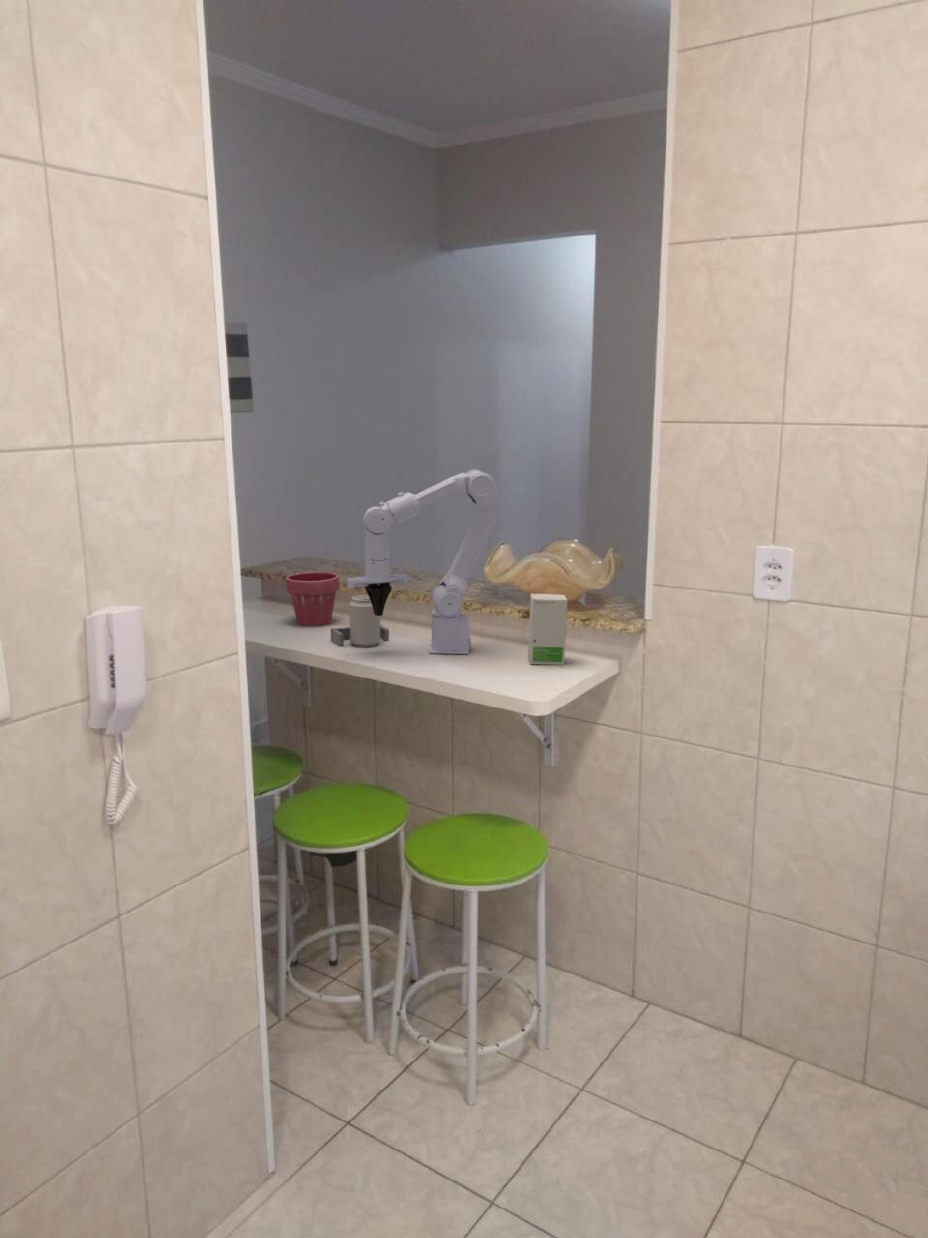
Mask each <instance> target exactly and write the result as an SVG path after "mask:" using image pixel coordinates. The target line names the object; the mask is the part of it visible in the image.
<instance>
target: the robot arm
mask: <svg viewBox="0 0 928 1238" xmlns="http://www.w3.org/2000/svg"><path fill="white" fill-rule="evenodd" d="M498 492H499V488H498V486H497V484H496V482H495V479H494V478H493V477H492V475H490V474H489V473H487V472H483V471H482V470H480V469H473V468H472V469H469V470H467V471H466V472H461V473H458V474H456V475H453V476H451V477H449V478H446V479H445V480H443V481H440V482H438V483H436V484H435V485H433V486H430V487H428V488H426V489H424V490H422V491H421V492H418V493H417V494H416V493H415V494H413V493H411V492H403V491H400V492H399V493H397V497H394V498H392V499H390V500H388V501H386V502H384V501H381V502H379V506H371V507H370V508H368V509H367V510H366V512H365V513H364V515H363V518H362V522H363V524H364V526H365V527H366V528H365V532H364V534H365V535H364V537H365V539H364V547H365V548H364V556H365V557H364V559H365V575H364V576H358V577H354V578H353V577H350V578H347V583H346V584H347V588H349V589H354V588H360V587H362V588H363V587H364V590H365V592H366V593H367V595H369V598H370V600H371V603H372V606H373V610H374V615H376V616H380V617H381V616H384V615H383V614H384V611H385V605H386V603H387V601H388V598H389V595H390V594H391V592H392V589H393V588H392V585H394V584H396V585H397V584H408V581H409V580H408V578H409V577H408V574H405V573H398V574H395V573H394V574H391V570H390V569H391V567H390V566H391V563H390V562H391V559H390V555H391V553H390V547H391V546H390V538H389V530H390V527H391V526H396V525H398V524H401V523H402V522H406V521H408V520H409V519H412V518H414V517H416V516H418V515H419V514H420V512H421V509H422V507H426V506H428V505H431V504H433V503H435V502H437V501H440V500H442V499H445V498H447V497H450V496H452V495H454V496H461V497H463V496H464V497H466V496H468V497H469V499H470V500H471V502H472V505H473V508H474V511H475V512H476V514H475V515H474V517H473V519H472V522H471V524H470V526H469V528H468V530H467V531H466V534H465V537H464V539H462V543H461V544H460V547H459V549H458V551H457V553H456V555H455V557H454V559H453V561H452V563H451V565H450V568H449V569H448V571H447V573H446V574H444V576H442V579H441V581H440V582H439V584H437V585H436V586H435V587H434V588H433V589H432V591H431V593H430V594H431V595H430V599H431V602H432V604H433V605H434V606H435V607H434V608H433V610H432V611H431V644H430V647H429V649H428V653H429V654H442V655H443V654H445V655H446V654H450V655H451V654H452V655H453V654H454V655H457V654H458V655H460V654H461V655H468V654H469V652H470V648H471V647H470V646H471V644H472V640H471V639H472V638H471V633H470V631H471V617H470V614H463V613H462V607H463V598H464V595H465V593H466V589H467V588H466V587H467V582H468V580H469V578H470V576H471V574H472V572H473V569H474V567H475V566H476V564H477V561H478V559H479V557H480V555H481V554H482V551H483V549H484V546H485V545H486V543H487V541H488V538H489V537H490V535H491V532H492V531H493V529H494V526H495V525H496V523H497V520H498V518H499V515H500V509H499V500H498V499H499V498H498V494H499V493H498Z"/></svg>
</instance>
